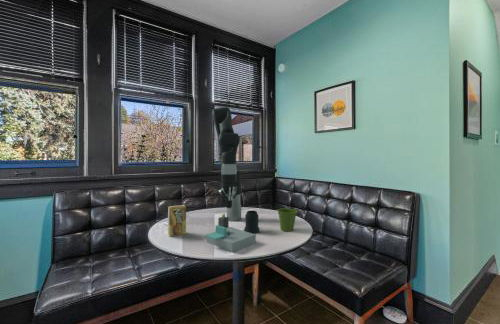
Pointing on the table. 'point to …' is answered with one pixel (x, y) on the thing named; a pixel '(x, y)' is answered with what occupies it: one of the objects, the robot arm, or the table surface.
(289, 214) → the plant pot
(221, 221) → the plug
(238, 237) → the socket plate
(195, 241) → the table surface
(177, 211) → the candy box
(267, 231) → the table surface
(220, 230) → the shutter
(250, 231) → the mug
